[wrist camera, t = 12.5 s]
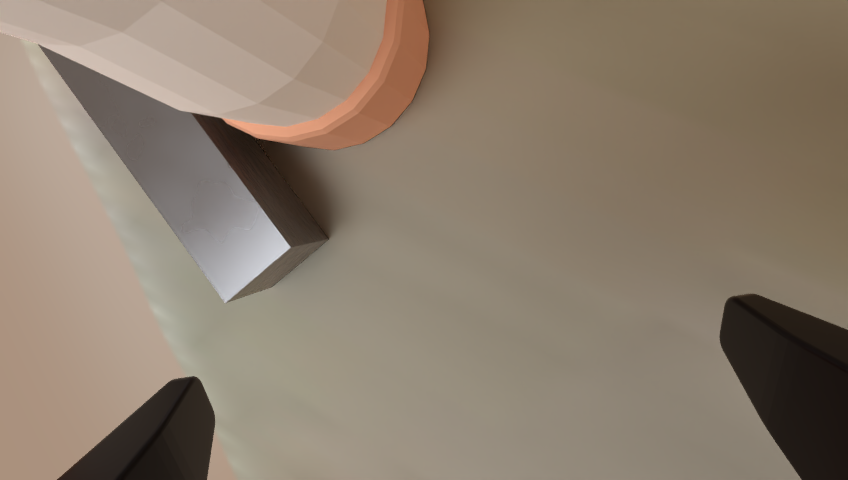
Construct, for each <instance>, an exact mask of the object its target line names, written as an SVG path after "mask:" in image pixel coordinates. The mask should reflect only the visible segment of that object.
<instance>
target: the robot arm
mask: <svg viewBox="0 0 848 480" xmlns="http://www.w3.org/2000/svg"><path fill="white" fill-rule="evenodd" d="M720 343H721V346H722V349H723V351H724V353H725V355H726V356H727V358H728V360H729V362H730V364H731V366H732V367H733V369H734V371H735V373H736V375H737V377H738V378H739V380H740V382H741V384H742V386H743V387H744V389H745V391H746V393H747V395H748V397H749V398H750V400H751V402H752V404H753V406H754V408H755V409H756V411H757V413H758V415H759V416H760V418H761V420H762V422H763V423H764V425H765V427H766V428H767V430H768V431H769V433H770V434H771V436H772V437H773V439H774V440H775V442H776V443H777V445H778V446H779V448H780V449H781V450H782V452H783V453H784V455H785V456H786V458H787V459H788V461H789V462H790V463H791V465H792V466H793V468H794V469H795V471H796V472H797V473H798V475H799V476H800V478H801V479H802V480H848V330H847V329H844V328H842V327H839V326H837V325H834V324H831V323H829V322H826V321H824V320H821V319H819V318H816V317H813V316H811V315H808V314H806V313H803V312H801V311H798V310H795V309H793V308H790V307H788V306H785V305H783V304H780V303H777V302H775V301H772V300H770V299H767V298H765V297H762V296H759V295H757V294H745V295H738V296H732V297H730V298H728V299H727V301H726V303H725V307H724V313H723V318H722V324H721V330H720ZM214 428H215V415H214V411H213V408H212V406H211V403H210V401H209V399H208V396H207V394H206V392H205V389H204V387H203V385H202V383H201V381H200V380H199V379H198V378H197V377H194V376H192V377H185V378H178V379H174V380H171V381H170V382H168V383H167V384H166V385H165V386H164V387H163V388H161V389H160V390H159V391H158V392H157V393H156V394H154V395H153V396H152V397H151V398H150V399H149V400H148V401H146V403H144V404H143V405H142V406H141V407H140V408H138V409H137V410H136V411H135V412H134V413H133V414H132V415H130V416H129V417H128V418H127V419H126V420H125V421H124V422H122V423H121V424H120V425H119V426H118V427H117V428H116V429H114V430H113V431H112V432H111V433H110V434H109V435H108V436H106V437H105V438H104V439H103V440H102V441H101V442H100V443H98V444H97V445H96V446H95V447H94V448H93V449H92V450H91V451H89V452H88V453H87V454H86V455H85V456H84V457H82V458H81V459H80V460H79V461H78V462H77V463H76V464H74V465H73V466H72V467H71V468H70V469H69V470H68V471H66V472H65V473H64V474H63V475H62V476H61V477H60V478H58V479H57V480H207V476H208V469H209V462H210V455H211V448H212V442H213V435H214Z"/></svg>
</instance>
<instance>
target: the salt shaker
mask: <svg viewBox="0 0 848 480" xmlns="http://www.w3.org/2000/svg"><path fill="white" fill-rule="evenodd" d="M0 33H3V34H7V35H10V36H13V37H17V38H20V39H24V40H27V41H30V42H34V43H37V44H39V45H41V46H43V47H45V48H47V49H50V50H52V51H54V52H56V53H58V54H60V55H62V56H64V57H67V58H69V59H71V60H73V61H75V62H77V63H79V64H82V65H84V66H86V67H88V68H90V69H92V70H94V71H96V72H99V73H101V74H103V75H105V76H107V77H109V78H111V79H113V80H116V81H118V82H120V83H122V84H124V85H126V86H128V87H130V88H133V89H135V90H137V91H139V92H141V93H143V94H145V95H148V96H150V97H152V98H154V99H156V100H158V101H160V102H162V103H165V104H167V105H169V106H171V107H173V108H175V109H177V110H179V111H185V112H191V113H197V114H202V115H208V116H214V117H219V118H222V119H223V120H224V121H225V122H226V123H227V124H229V125H231V126H233V127H235V128H237V129H240V130H242V131H244V132H246V133H248V134H250V135H252V136H254V137H256V138H259V139H264V140H270V141H275V142H281V143H286V144H291V145H297V146H302V147H310V148H319V149H328V150H337V149H341V148H345V147H350V146H354V145H358V144H362V143H365V142H366V141H368V140H370V139H371V138H373V137H374V136H376V135H378V134H379V133H381V132H382V131H384V130H386V129H387V128H389V127H390V126H391V125H392V124H393V123H394V122H395V121H396V120H397V118H398V117H399V116H400V115H401V114H402V112H403V111H404V110H405V109H406V108H407V107H408V105H409V104H410V103H411V102H412V100H413V98H414V96H415V93H416V91H417V89H418V86H419V84H420V82H421V79H422V77H423V75H424V72H425V70H426V62H427V53H428V44H429V29H428V24H427V19H426V14H425V8H424V3H423V0H0Z"/></svg>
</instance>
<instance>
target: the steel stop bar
mask: <svg viewBox="0 0 848 480" xmlns="http://www.w3.org/2000/svg"><path fill="white" fill-rule="evenodd" d="M38 45H39V44H38ZM39 46H40V48H41V49H42V51H43V52H44V53H45V55H46V56H47V57H48V59H49V60H50V62H51V63H52V64H53V66H54V67H55V69H56V70H57V71H58V73H59V74H60V75H61V77H62V78H63V80H64V81H65V82H66V84H67V85H68V86H69V88H70V89H71V91H72V92H73V93H74V95H75V96H76V98H77V99H78V100H79V102H80V103H81V104H82V106H83V107H84V109H85V110H86V111H87V113H88V114H89V116H90V117H91V118H92V120H93V121H94V122H95V124H96V125H97V127H98V128H99V129H100V131H101V132H102V133H103V135H104V136H105V138H106V139H107V140H108V142H109V143H110V145H111V146H112V147H113V149H114V150H115V151H116V153H117V154H118V156H119V157H120V158H121V160H122V161H123V162H124V164H125V165H126V167H127V168H128V169H129V171H130V172H131V174H132V175H133V176H134V178H135V179H136V180H137V182H138V183H139V185H140V186H141V187H142V189H143V190H144V192H145V193H146V194H147V196H148V197H149V198H150V200H151V201H152V203H153V204H154V205H155V207H156V208H157V209H158V211H159V212H160V214H161V215H162V216H163V218H164V219H165V221H166V222H167V223H168V225H169V226H170V227H171V229H172V230H173V232H174V233H175V234H176V236H177V237H178V239H179V240H180V241H181V243H182V244H183V245H184V247H185V248H186V250H187V251H188V252H189V254H190V255H191V256H192V258H193V259H194V261H195V262H196V263H197V265H198V266H199V268H200V269H201V270H202V272H203V273H204V274H205V276H206V277H207V279H208V280H209V281H210V283H211V284H212V285H213V287H214V288H215V290H216V291H217V292H218V294H219V295H220V297H221V298H222V299H223V301H224V302H225V303H227V302H230V301H233V300H236V299H239V298H242V297H245V296H248V295H250V294H253V293H256V292H259V291H262V290H265V289H268V288H271V287H273V286H274V285H275V284H276V283H277V282H278V281H280V280H281V279H282V278H283V277H284V276H286V275H287V274H288V273H289V272H290V271H292V270H293V269H294V268H295V267H296V266H298V265H299V264H300V263H301V262H302V261H304V260H305V259H306V258H307V257H308V256H310V255H311V254H312V253H313V252H314V251H316V250H317V249H318V248H319V247H320V246H322V245H323V244H324V243H325V242H326V241H328V240H329V239H328V237H327V236H326V235H325V233H324V232H323V231H322V229H321V228H320V227H319V225H318V224H317V223H316V221H315V220H314V219H313V217H312V216H311V215H310V213H309V212H308V211H307V209H306V208H305V207H304V205H303V204H302V203H301V201H300V200H299V199H298V197H297V196H296V195H295V193H294V192H293V191H292V189H291V188H290V187H289V185H288V184H287V183H286V181H285V180H284V179H283V177H282V176H281V175H280V173H279V172H278V171H277V169H276V168H275V167H274V165H273V164H272V163H271V161H270V160H269V159H268V157H267V156H266V155H265V153H264V152H263V151H262V149H261V148H260V147H259V145H258V144H257V143H256V141H255V140H254V139H253V137H252V136H251V135H250V134H248V133H246V132H244V131H242V130H240V129H237V128H235V127H233V126H231V125H229V124H227V123H226V122H225V121H224V120H223V119H222V118H219V117H214V116H208V115H202V114H197V113H191V112H185V111H179V110H177V109H175V108H173V107H171V106H169V105H167V104H165V103H162V102H160V101H158V100H156V99H154V98H152V97H150V96H148V95H145V94H143V93H141V92H139V91H137V90H135V89H133V88H130V87H128V86H126V85H124V84H122V83H120V82H118V81H116V80H113V79H111V78H109V77H107V76H105V75H103V74H101V73H99V72H96V71H94V70H92V69H90V68H88V67H86V66H84V65H82V64H79V63H77V62H75V61H73V60H71V59H69V58H67V57H64V56H62V55H60V54H58V53H56V52H54V51H52V50H50V49H47V48H45V47H43V46H41V45H39Z"/></svg>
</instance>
